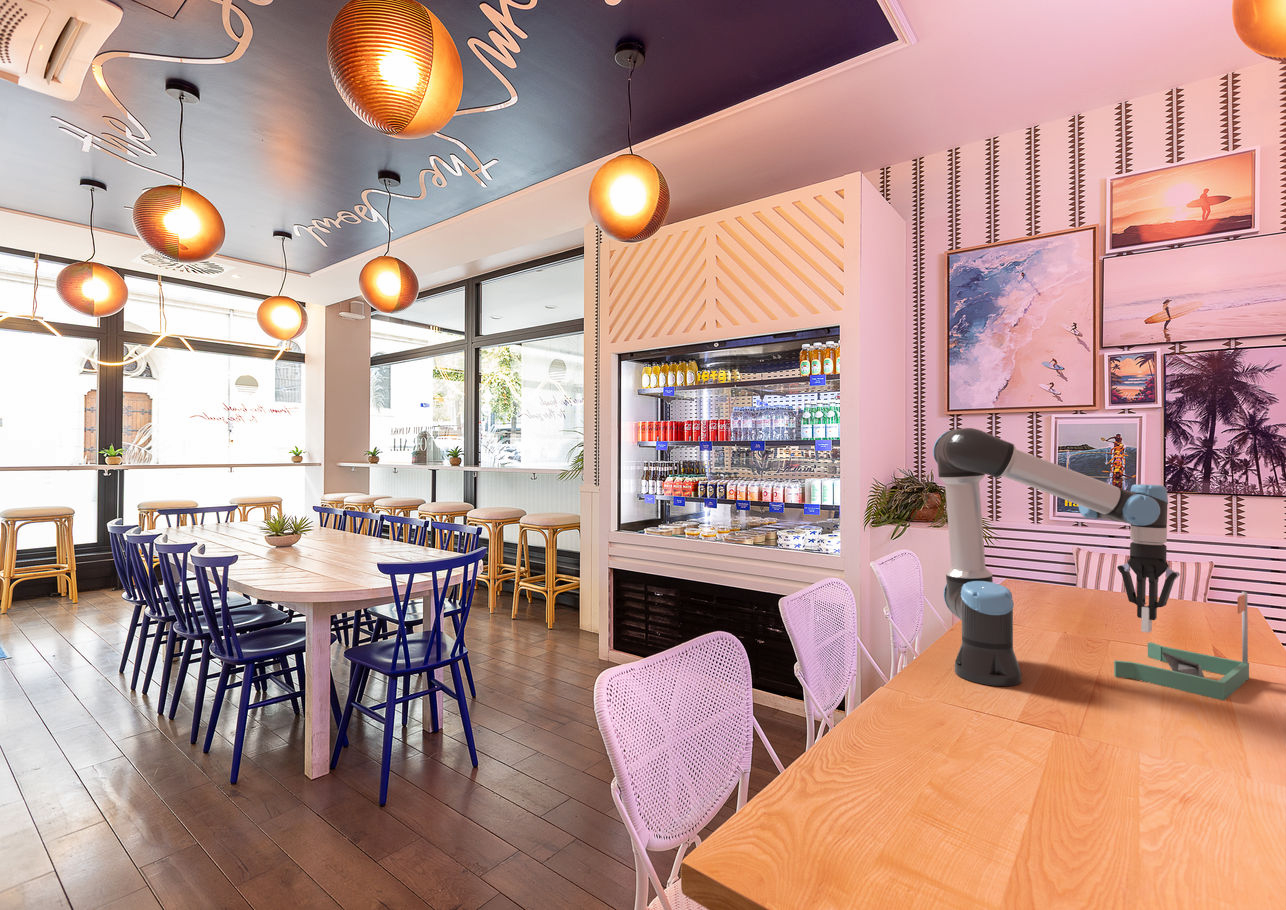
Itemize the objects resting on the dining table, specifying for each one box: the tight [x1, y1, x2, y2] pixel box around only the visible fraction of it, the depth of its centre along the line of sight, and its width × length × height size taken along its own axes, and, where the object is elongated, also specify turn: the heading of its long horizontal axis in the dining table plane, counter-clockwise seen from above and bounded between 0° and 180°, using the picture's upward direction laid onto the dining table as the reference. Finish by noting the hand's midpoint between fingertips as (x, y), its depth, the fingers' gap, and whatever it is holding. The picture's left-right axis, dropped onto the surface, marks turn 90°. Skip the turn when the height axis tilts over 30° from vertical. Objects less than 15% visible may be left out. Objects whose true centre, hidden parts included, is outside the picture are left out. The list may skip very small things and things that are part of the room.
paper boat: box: [1161, 651, 1205, 678], centre depth 155 cm, size 12×6×9 cm
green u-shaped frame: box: [1113, 591, 1250, 701], centre depth 159 cm, size 21×27×22 cm
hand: (1146, 631), depth 165 cm, fingers closed
